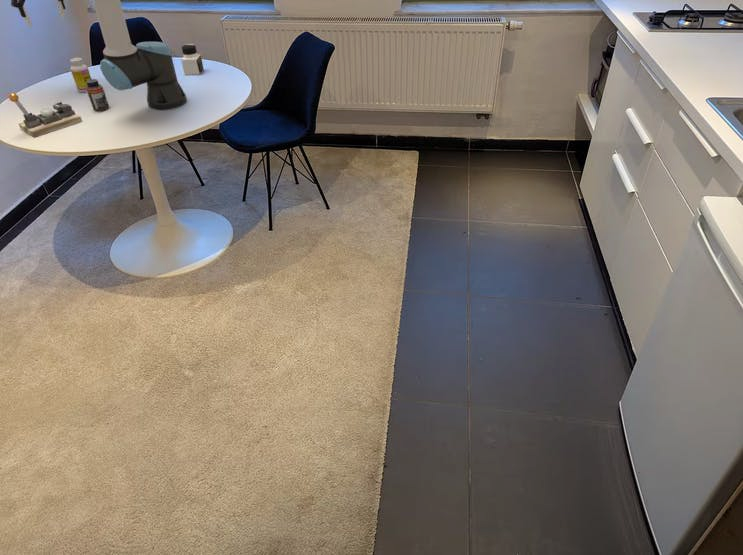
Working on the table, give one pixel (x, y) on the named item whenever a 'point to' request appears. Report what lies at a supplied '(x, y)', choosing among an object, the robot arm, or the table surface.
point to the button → (46, 113)
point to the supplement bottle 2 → (97, 95)
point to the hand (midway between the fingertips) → (47, 22)
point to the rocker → (58, 107)
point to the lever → (18, 103)
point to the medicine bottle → (191, 60)
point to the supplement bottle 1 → (80, 74)
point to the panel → (49, 121)
